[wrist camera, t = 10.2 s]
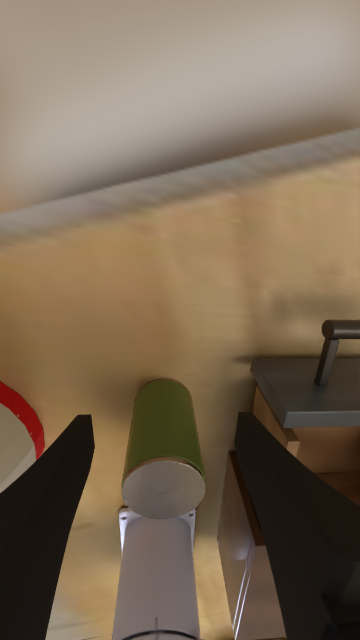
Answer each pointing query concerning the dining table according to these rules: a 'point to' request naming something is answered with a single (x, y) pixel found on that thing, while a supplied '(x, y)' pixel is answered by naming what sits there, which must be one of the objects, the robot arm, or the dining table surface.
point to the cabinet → (246, 563)
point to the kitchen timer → (17, 436)
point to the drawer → (316, 408)
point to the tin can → (163, 453)
